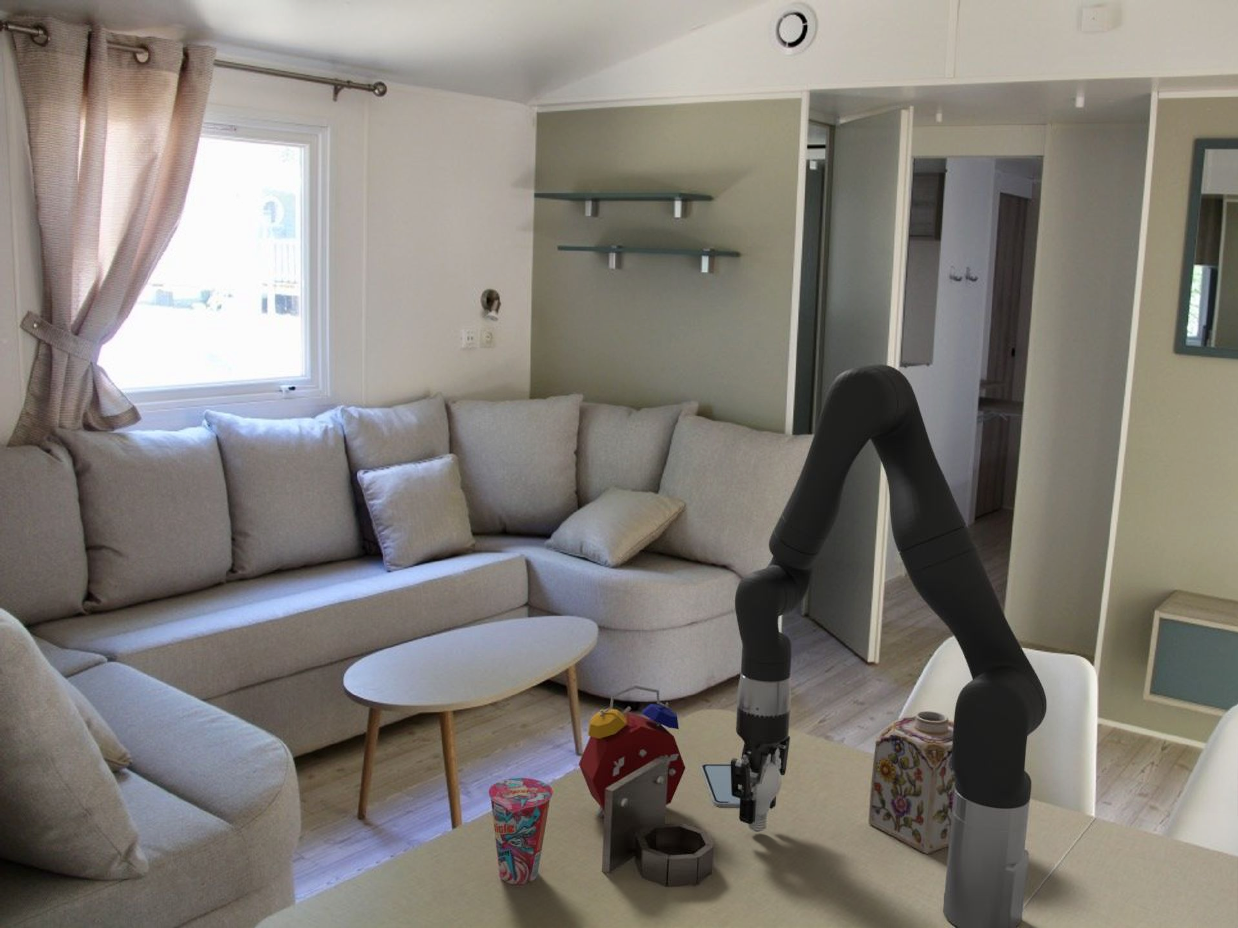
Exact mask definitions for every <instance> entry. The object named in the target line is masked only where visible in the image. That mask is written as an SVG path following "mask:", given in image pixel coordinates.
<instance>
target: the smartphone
mask: <svg viewBox="0 0 1238 928" xmlns="http://www.w3.org/2000/svg"><path fill="white" fill-rule="evenodd" d="M700 770H701V772H702V776H703V778H704V781H705V784H706V786H707V787H706V788H707V790H708V793H709V795H710V798H711V801H712V804H713V805H714V806H716V807H719V808H740V798H737V797H734V796H732V793H731V763H703V764H701V765H700ZM738 789H739V787H738Z"/></svg>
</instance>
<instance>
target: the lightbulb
mask: <svg viewBox="0 0 1238 928" xmlns="http://www.w3.org/2000/svg"><path fill="white" fill-rule="evenodd" d="M757 776H758V773H754V772H750V777H754V778H756V777H757ZM782 781H783V780H782V775H781V774H780V771H779V769H778V768H777V766H776V765H775V764H774V763H773V762H771V761H770V763H769V765H768V766H767V769H766V772H765V775H764V777H763V780H762V783H761V784H759V785H758V786H757V795H756V810H755V821H754V822H753V823H752V824H748V823H747V827H748V829H749V830H751V831H753V832H756V833H759V832H762V831H764V830H765V829H766V828H767V822H768V821H767V815H768V811H769V809H770V804H771V802H772V800H773V799H774V798H775V797H776V798H777V795H778V794H779V792H780V790H781V788H782V783H783V782H782ZM738 787H739V784H738ZM751 789H752V782H750V790H751Z"/></svg>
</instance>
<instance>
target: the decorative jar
mask: <svg viewBox="0 0 1238 928" xmlns="http://www.w3.org/2000/svg"><path fill="white" fill-rule="evenodd" d="M953 725H954V721H952V720H950V719H949V717H948V716H946V715H945V714H943V713H942V712H937V711H931V710H930V711H929V710H927V711H925V710H924V711H919V712H916V714H914V715H909V716H905V717H900V718H897V719H895V720H893V721H892V722H890V724H889V725H888V726H887V728H885V729H884V730H883V732H882V733H881V734H879V736H878V737H876V740H875V741H874V742H875V745H874V753H873V761H872V770H871V771H872V772H871V777H870V778H871V779H870V791H869V792H870V795H869V807H868V824H869V825H871V826H873V827H875V828H877V829H879V830H881V831H883V832H884V833H886V834H888V835H890V836H891V837H894V838H895V839H897V840H899V841H901V842H903V843H905V844H907V845H908V846H910V847H912V848H914V849H915V850H918V851H919V852H921V853H923V854H926V855H928V854H931V853H933V852H936V851H939V850H942V849H944V848H947V847H949V841H950V830H951V819H952V809H953V799H954V788H955V774H954V771H953V767H952V744H953Z"/></svg>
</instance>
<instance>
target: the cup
mask: <svg viewBox="0 0 1238 928" xmlns="http://www.w3.org/2000/svg"><path fill="white" fill-rule="evenodd" d="M553 791H554V790H553V789H552V787H551V786H550V785H549V784H548V783H546V782H543V781H542V780H539V779H535V778H527V777H514V778H505V779H503V780H500V781H498V782H496V783H494V784H493V785H491V786H490V788H489V790H488V797H489V799H490V801H491V802H490V803H491V811H492V818H493V819H492V820H493V828H494V829H493V830H494V839H495V846H496V847H495V848H496V854H497V856H496V857H497V864H498V871H499V872H498V873H499V874H498V875H499V878H500V879H501V880H503V881H504V883H505V882H506V883H508V884H513V885H523V884H524V885H525V884H529V883H531V882H534V881H535V879H537V878H538V875H539V868H540V862H541V855H542V851H543V844H544V837H545V833H546V832H545V831H546V826H547V819H548V814H549V813H548V812H549V807H550V801H551V798H552V797H553Z"/></svg>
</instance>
